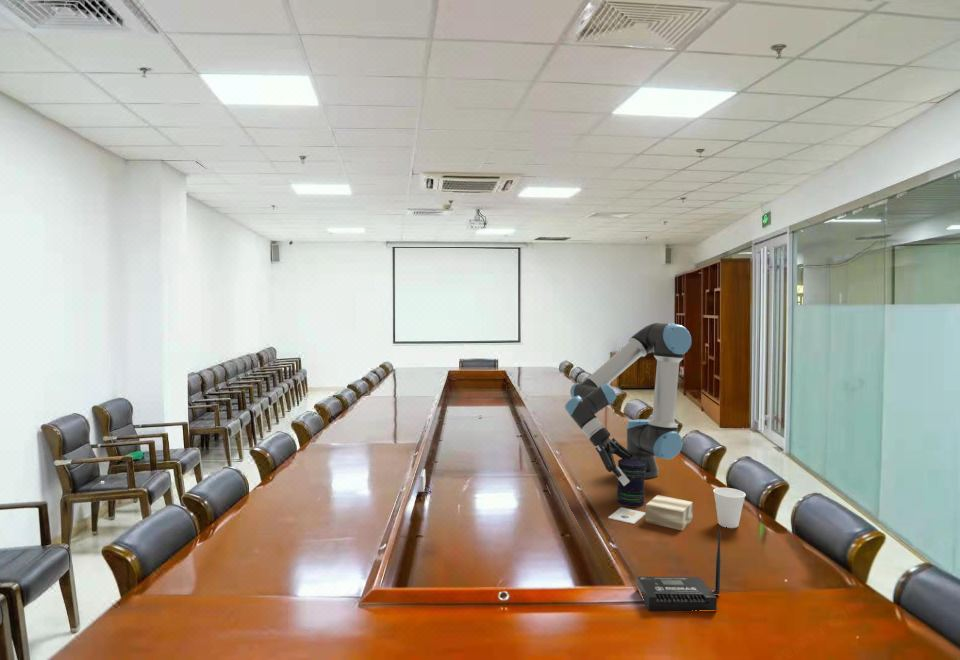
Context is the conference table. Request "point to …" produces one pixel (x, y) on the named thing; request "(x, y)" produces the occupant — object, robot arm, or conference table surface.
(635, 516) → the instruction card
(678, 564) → the conference table surface
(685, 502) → the base block
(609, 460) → the robot arm
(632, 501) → the storage jar
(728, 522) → the cup
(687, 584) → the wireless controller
